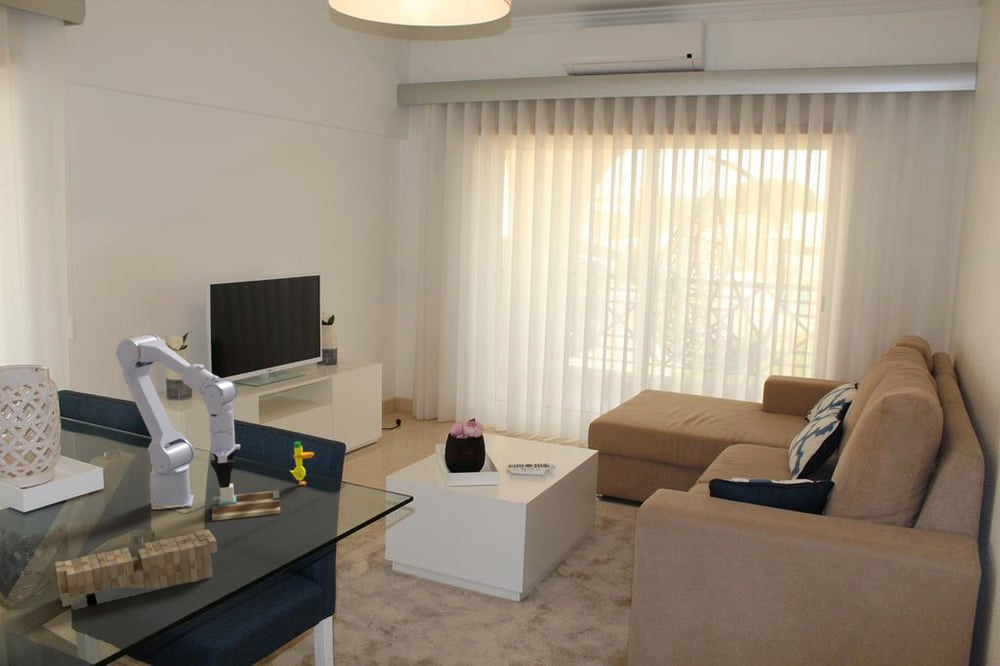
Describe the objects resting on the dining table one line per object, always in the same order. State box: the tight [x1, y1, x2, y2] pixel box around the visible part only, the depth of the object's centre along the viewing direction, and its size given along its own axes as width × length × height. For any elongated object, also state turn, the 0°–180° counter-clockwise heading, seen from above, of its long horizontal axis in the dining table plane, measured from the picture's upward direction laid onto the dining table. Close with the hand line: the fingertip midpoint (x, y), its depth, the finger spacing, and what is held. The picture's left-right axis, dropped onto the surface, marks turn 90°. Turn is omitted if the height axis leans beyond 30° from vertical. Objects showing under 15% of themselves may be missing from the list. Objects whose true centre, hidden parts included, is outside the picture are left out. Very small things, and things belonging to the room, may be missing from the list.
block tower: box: [54, 529, 218, 598], centre depth 169 cm, size 8×8×29 cm
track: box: [211, 490, 281, 521], centre depth 212 cm, size 16×12×3 cm
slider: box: [219, 483, 237, 506], centre depth 210 cm, size 4×5×5 cm
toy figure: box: [289, 441, 315, 486], centre depth 228 cm, size 7×4×12 cm, turn 109°
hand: (225, 482), depth 209 cm, fingers open, 7 cm apart
